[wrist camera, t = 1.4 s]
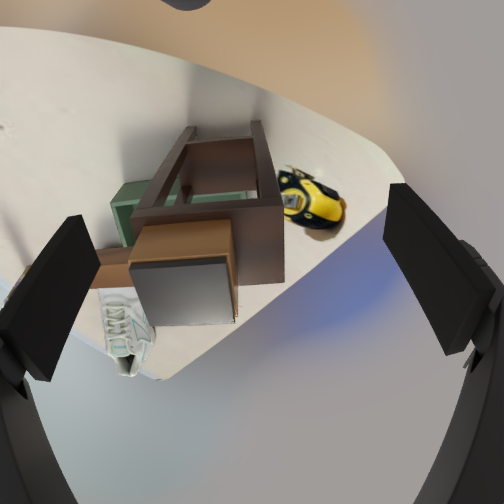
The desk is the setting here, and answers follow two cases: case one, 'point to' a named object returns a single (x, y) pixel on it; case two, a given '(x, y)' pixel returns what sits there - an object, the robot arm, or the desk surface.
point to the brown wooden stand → (239, 211)
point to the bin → (134, 191)
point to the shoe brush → (177, 273)
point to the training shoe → (125, 329)
